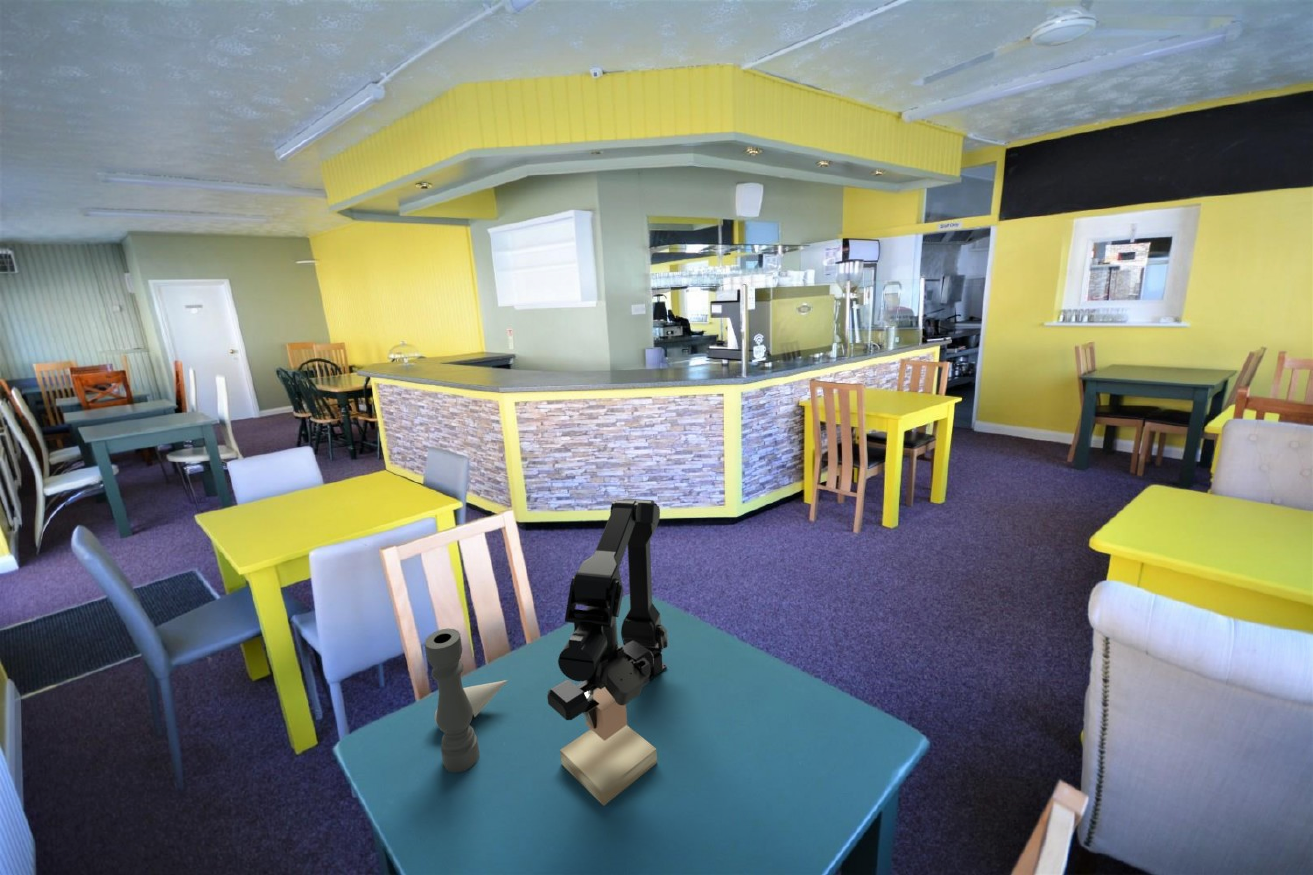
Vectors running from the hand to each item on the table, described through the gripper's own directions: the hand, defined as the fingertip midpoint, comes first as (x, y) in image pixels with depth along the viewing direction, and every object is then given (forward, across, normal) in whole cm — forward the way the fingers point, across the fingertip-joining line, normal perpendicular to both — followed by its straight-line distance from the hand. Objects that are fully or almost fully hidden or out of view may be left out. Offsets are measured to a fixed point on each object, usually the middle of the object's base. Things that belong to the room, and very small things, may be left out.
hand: (606, 718), depth 99 cm
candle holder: (+10, -18, +20) cm, 29 cm away
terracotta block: (+1, 0, 0) cm, 1 cm away
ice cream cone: (+10, -11, +29) cm, 32 cm away
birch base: (+9, 0, 0) cm, 9 cm away
